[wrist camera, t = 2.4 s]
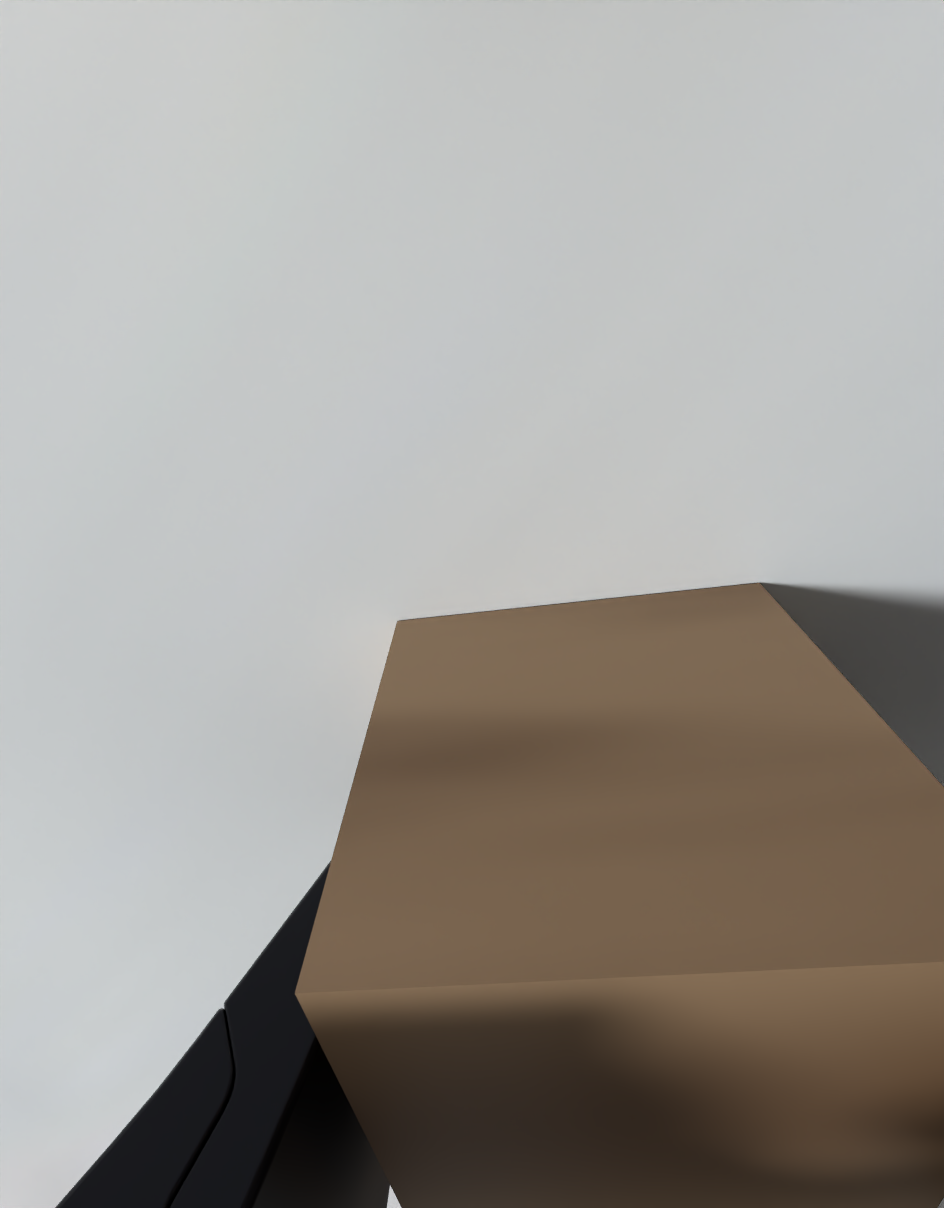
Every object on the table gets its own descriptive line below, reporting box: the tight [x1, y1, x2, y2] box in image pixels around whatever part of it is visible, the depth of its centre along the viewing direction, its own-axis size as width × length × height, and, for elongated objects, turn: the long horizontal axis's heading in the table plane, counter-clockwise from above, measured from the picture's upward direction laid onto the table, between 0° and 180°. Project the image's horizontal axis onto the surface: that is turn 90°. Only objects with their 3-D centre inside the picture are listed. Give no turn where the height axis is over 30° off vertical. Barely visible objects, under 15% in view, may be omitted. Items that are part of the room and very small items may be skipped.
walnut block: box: [295, 583, 944, 1208], centre depth 7 cm, size 5×5×5 cm
